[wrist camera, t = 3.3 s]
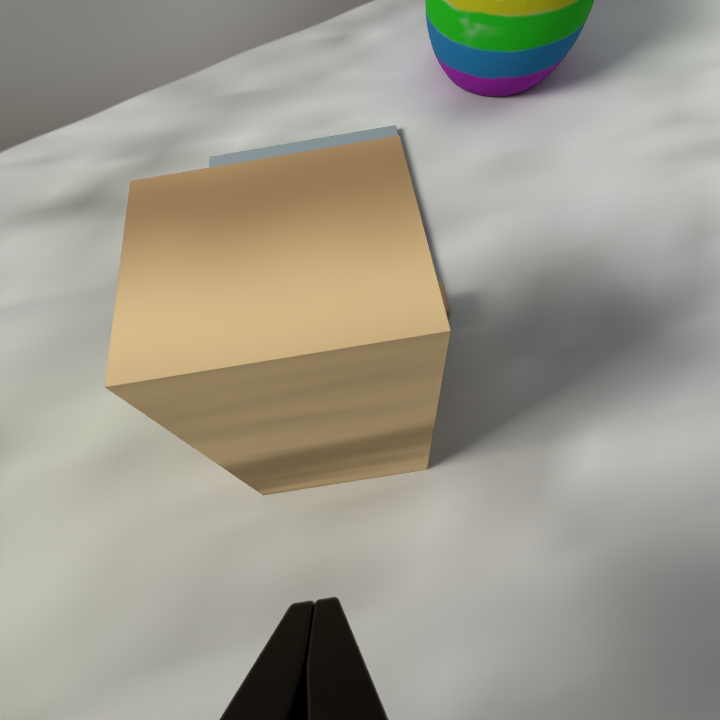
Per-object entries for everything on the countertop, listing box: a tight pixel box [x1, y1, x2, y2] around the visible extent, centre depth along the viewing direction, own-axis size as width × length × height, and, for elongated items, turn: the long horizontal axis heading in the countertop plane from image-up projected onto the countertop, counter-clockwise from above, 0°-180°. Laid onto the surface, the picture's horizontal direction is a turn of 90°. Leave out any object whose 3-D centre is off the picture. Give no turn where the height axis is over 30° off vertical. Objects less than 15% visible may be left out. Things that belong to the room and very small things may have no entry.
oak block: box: [105, 135, 451, 495], centre depth 14 cm, size 5×6×10 cm
